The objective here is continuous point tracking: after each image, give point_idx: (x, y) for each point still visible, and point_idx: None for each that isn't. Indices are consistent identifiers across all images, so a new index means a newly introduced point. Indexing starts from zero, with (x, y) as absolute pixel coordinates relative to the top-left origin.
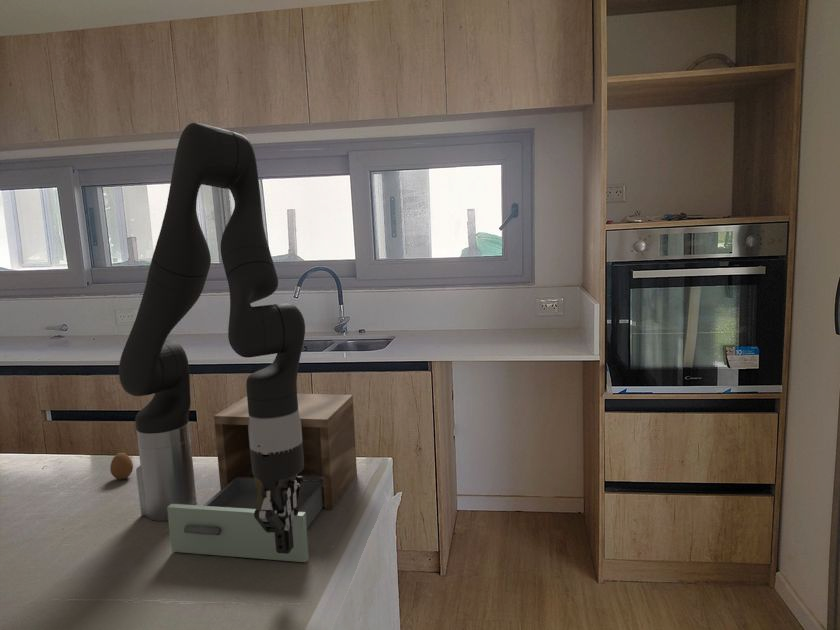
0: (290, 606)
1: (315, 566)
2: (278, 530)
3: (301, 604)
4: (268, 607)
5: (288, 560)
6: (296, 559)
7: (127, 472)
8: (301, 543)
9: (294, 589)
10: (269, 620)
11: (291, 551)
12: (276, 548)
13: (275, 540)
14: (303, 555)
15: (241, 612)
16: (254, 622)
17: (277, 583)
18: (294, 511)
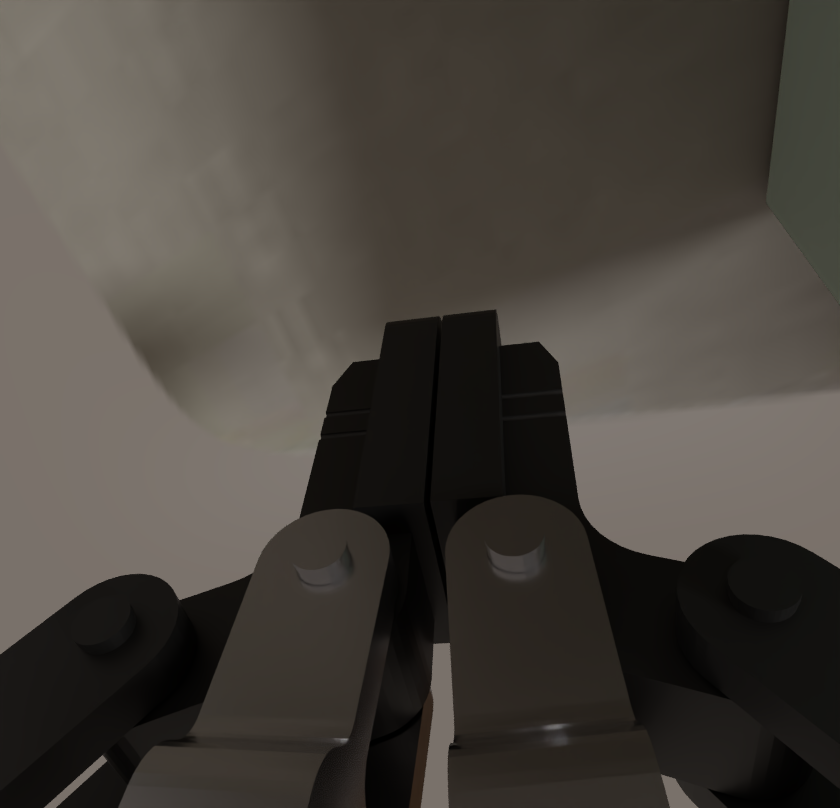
0: (272, 329)
1: (732, 277)
2: (96, 792)
3: (315, 376)
4: (199, 206)
5: (786, 34)
6: (782, 125)
7: None
8: (834, 255)
9: (432, 270)
10: (108, 281)
11: (813, 105)
12: (334, 389)
13: (373, 401)
14: (785, 213)
15: (53, 44)
16: (40, 204)
17: (462, 109)
18: (682, 781)
